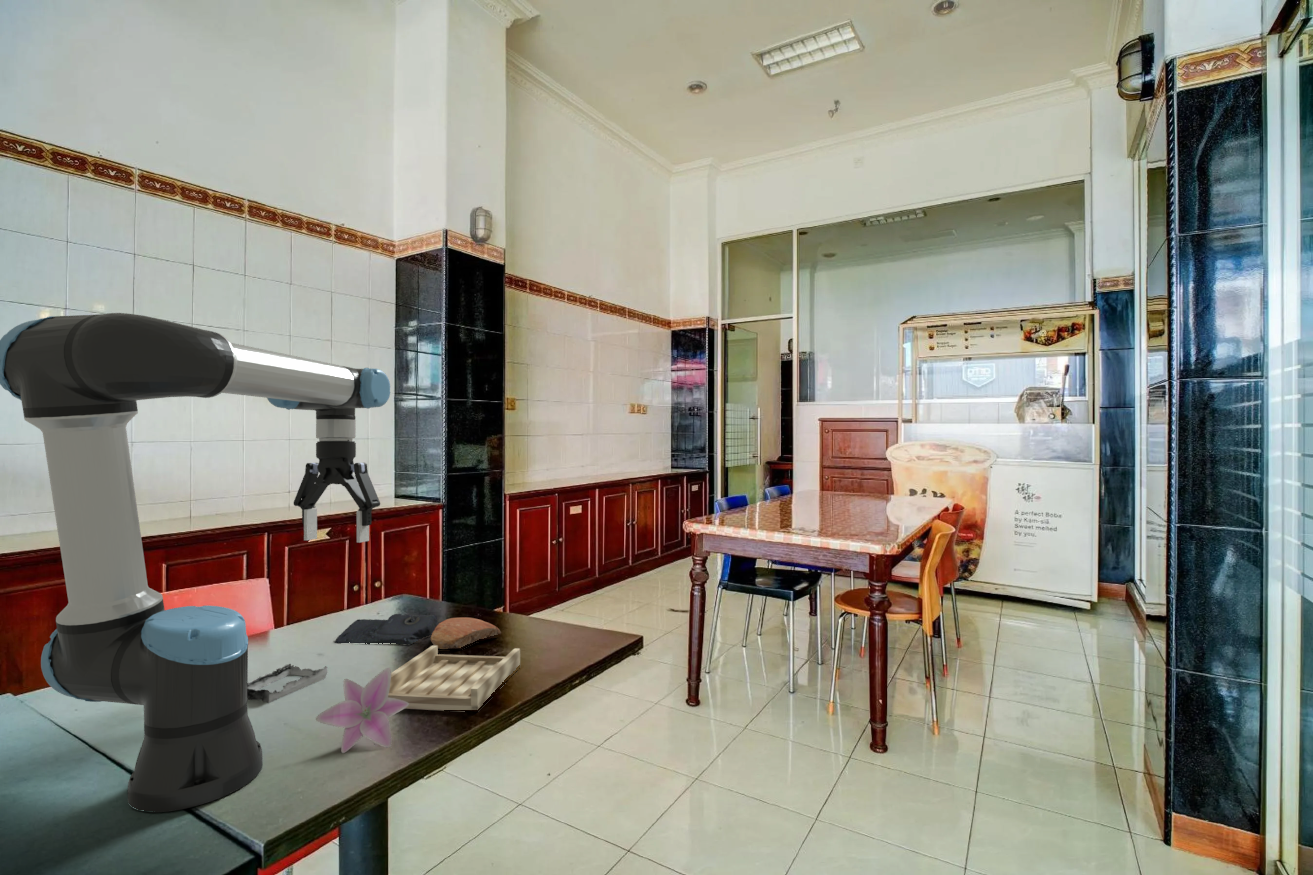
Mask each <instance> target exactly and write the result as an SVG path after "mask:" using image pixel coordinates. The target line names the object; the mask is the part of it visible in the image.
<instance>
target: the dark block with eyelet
mask: <svg viewBox="0 0 1313 875" xmlns="http://www.w3.org/2000/svg"><path fill="white" fill-rule="evenodd" d="M413 617H414V616H413V614H404V615H402V614H400V613H394V614H392V615H391V616H389V617H388V619H376V618H375V619H370V618H368V619H365V618H363V619H360V618H359V619H356V620H354V621H353V622H352V623H351V624H350V625H349V626H348V627H346V629H345V630H343V632H341V634H339V635H338V636H337V638H336V639H335V641H334V644H341V643H349V642H350V643H365V644H364V645H367V644H368V645H370V643H378V644H379V643H382V644H383V643H390V644H391V643H396V644H412V643H413V642H416V641H418V640H419V639H422V638H423V637H426V636H429V635H431V634H432V633H433V631H434V630H435V628H436V627H437V625H438V624H439V623H440V622H438V616H437V615H436V614H432V615H430V614H426V615H425V614H419V615H418V616H416V617H415V619H414V618H413ZM366 643H367V644H366Z"/></svg>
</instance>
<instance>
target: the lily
mask: <svg viewBox="0 0 1313 875" xmlns="http://www.w3.org/2000/svg"><path fill="white" fill-rule="evenodd" d="M391 673H392V669H391V667H386V668H385V669H382V670H381V671H380V672H379V673H377V675H375V676H374V677H373V678H371V680H369V681H368V683H366V684H365V686H364V687H363V686H362V685H361V684H359V683H357V682H355V681H353V680H351V679H350V678H349V679H348V678H344V680H343V681H342V682H343V684H342V687H343V695H344V700H343V701H341V702H338V703H336V704H335V705H332V706H330V707H329V708H327V709H325V710H324V711H322V712H321V713H319V714H317V716H316V717H315V721H316V722H318V723H320V724H323V725H326V726H332V727H337V728H340V729H341V728H342V729H344V730H343V734H342V740H341V748H340V750H341V753H342V754H345V753H346V752H348V751H349V750H350V749H351V748H353V747H354V746H355V745H356V744H357V743H358V742H359V741H360V740H361V739H362V738H363V737H365V738H366V739H368V740H370V741H371V742H373V743H375V744H377V745H379V746H381V747H383V748H386V749H387V748H391V746H392V742H393V741H392V732H391V731H392V730H391V725H390V724H391V723H390V720H389V718H390V717H392V716H395V715H396V714H398V713H399V712H401V711H403V710H405V709H404V708H406V707H407V706H408V705H409V703H408V702H406V701H403V700H399V699H395V698H388V694H389V689H390V681H391Z"/></svg>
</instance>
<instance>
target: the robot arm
mask: <svg viewBox="0 0 1313 875" xmlns="http://www.w3.org/2000/svg"><path fill="white" fill-rule="evenodd" d="M0 386H1V387H2V388H3V389H4V390H5V391H8V392H9V393H10V394H11V396H12V397H13V398H15V399H18V400H20V402H21V407H22V412H23V419H24V421H26V422H27V423H29V424H31V425H33V427H36V428H37V429H39V430H40V431H41V432H42V437H43V444H44V449H45V451H44V452H45V457H46V464H47V471H48V476H49V483H50V489H51V496H52V503H53V509H54V515H55V516H54V517H55V522H56V528H57V530H56V531H57V535H58V536H57V537H58V542H59V548H60V556H61V561H62V568H63V574H64V581H65V588H66V594H67V601H68V603H67V605H66V606H65V607H64V608H62V610H61V611H60V612H59V613H58V614H57V615H56V617H55V624H56V629H55V630H54V631H53V632H52V633H51V634H50V636H49V638H50V640H49V641H48V643H46V644H44V646H43V649H42V652H41V656H40V668H41V672H42V675H43V678H44V679H45V681H46V683H47V684H48V685H49V687H50V688H52V689H53V690H55V691H56V692H57V693H58V694H59V693H60V695H63V696H66V697H70V698H74V699H75V700H80V701H81V700H82V701H85V702H91V703H92V702H95V703H97V702H108V703H119V704H129V705H139V706H143V731H144V732H143V740H142V744H141V745H140V746H141V747H140V749H139V751H138V754H137V759H136V761H135V765H134V771H133V772H132V774H131V775H130V776H129V780H128V782H127V804H128V803H129V804H130V805H131V806H132V807H134V808H136V809H138V810H144V811H153V812H152V813H167V812H175V811H181V810H186V809H190V808H194V807H199V806H200V805H204V804H207V803H211V802H213V801H216V800H218V799H221V798H224V797H225V796H227V795H228V796H229V795H231V794H232V793H234V792H236V791H238V790H239V789H241V788H243V787H245V786H247V785H248V784H249V783H250V782H251V781H253V780H254V779H255V778H256V777H257V776H258V775H259V774H260V772H261V770H262V769H263V761H264V760H263V748H262V745H261V743H260V742H259V741H257V738H256V735H255V731H254V728H253V725H252V722H251V720H250V717H249V712H248V699H247V683H249V681H248V676H249V675H248V674H249V672H248V671H249V670H248V667H249V666H248V664H249V663H248V661H249V658H248V657H249V654H248V652H249V650H248V648H249V637H248V634H247V624H246V621H245V617H244V616H243V615H242V614H241V613H240V612H238V611H236V610H235V609H231V608H229V607H224V606H219V605H202V606H196V605H187V606H180V607H174V608H169V609H166V610H165V603H164V596H163V594H162V593H161V592H159V591H157V590H154V589H153V588H150V587H149V585H148V578H147V568H146V563H145V555H144V548H143V542H142V541H143V540H142V534H141V528H140V519H139V518H140V517H139V512H138V506H137V498H136V496H137V495H136V492H135V491H136V490H135V483H134V477H133V469H132V461H131V454H130V446H129V441H128V432H127V425H128V423H129V422H130V421H131V420H132V419H133V418H134V417H136V415H138V413H139V411H138V404H137V403H138V402H137V401H143V400H144V401H145V400H155V399H163V398H178V397H179V398H180V397H181V398H182V397H185V398H186V397H190V398H192V397H193V398H195V397H197V398H203V399H204V398H205V399H209V398H213V397H216V396H218V395H221V394H230V395H237V396H239V395H240V396H246V397H257V398H264V399H265V398H266V399H267V401H268V402H269V403H270V404H271V405H273V406H274V407H276V408H280V409H286V410H290V411H291V410H299V411H300V410H302V411H315V438H316V439H318V441H316V444H315V457H316V459H318V462H307V463H306V464H305V469H304V470H305V471H304V476H303V477H302V480H301V482H300V485H299V488H298V490H297V493H296V495H295V497H294V500H293V506H295V507H299V508H300V509H301V523H302V524H303V541H311V540H316V539H318V508H316V504H317V503H318V502H319V500H320V498H321V497H322V495H323V494H324V493H325V491H326V489H327V488H328V486H331V485H341V486H342V487H344V488H345V489H346V491H347V492H348V494H349V495H350V497H351V498H352V499H353V501H354V502H355V503H356V505H357V508H358V509H357V511H356V543H359V544H360V543H364V542H369V541H370V526H371V525H372V511H373V509H375V508H379V507H380V505H381V501H380V499H379V497H378V495H377V492H376V490H375V487H374V485H373V482H372V480H371V477H370V475H369V473H368V464H367V463H366V462H354V459H355V458H356V457H357V445H356V444H357V443H356V442H355V441H354V440H353V439H356V436H357V435H356V433H357V432H356V421H357V420H356V417H357V416H356V409H370V408H371V409H372V408H380V407H383V406H384V405H385V404H386V403H388V401H389V398H390V396H391V383H390V379H389V376H388V375H387V374H386V373H385V372H384V371H383V370H382V369H380V368H369V367H364V368H353V367H350V366H344V365H339V364H334V363H329V362H325V361H321V360H316V359H311V358H305V357H302V356H298V355H297V356H296V355H293V354H292V355H291V354H287V353H281V352H279V351H278V352H277V351H273V350H267V349H262V348H259V347H254V346H249V345H244V344H239V343H235V342H230V341H229V339H227V337H225V336H224V335H222V334H221V333H218V332H216V331H211V330H207V329H202V328H198V327H194V326H190V325H185V324H181V323H179V322H178V323H177V322H175V321H169V320H166V319H161V318H156V317H152V316H147V315H142V314H141V315H140V314H135V313H127V312H126V313H124V312H108V313H102V314H79V315H74V314H73V315H56V316H55V315H52V316H47V317H42V318H39V319H34V320H33V319H32V320H28V321H26V322H23V323H20V324H17V325H16V326H14V327H13V328H11V329H10V330H9V331H8V332H7V333H5V334H4V335H2V337H1V338H0ZM129 804H128V805H129ZM132 807H131V808H132ZM138 810H137V811H138ZM154 811H155V812H154Z"/></svg>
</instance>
